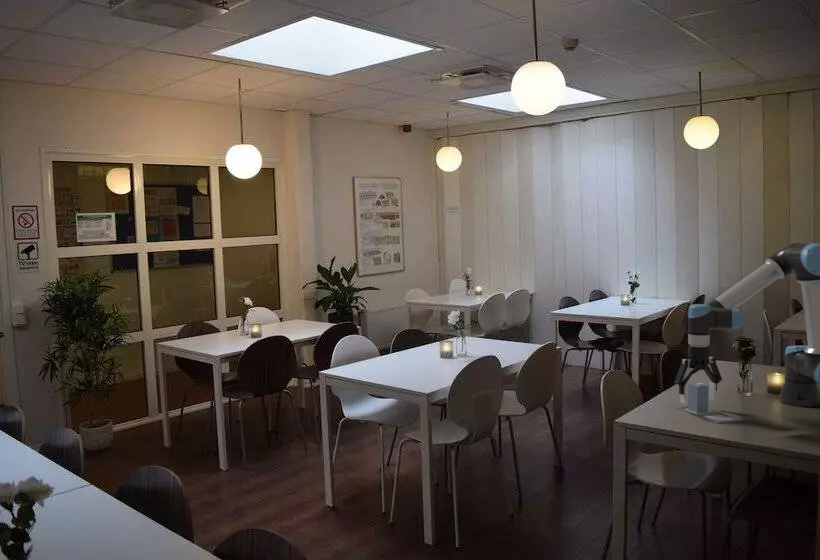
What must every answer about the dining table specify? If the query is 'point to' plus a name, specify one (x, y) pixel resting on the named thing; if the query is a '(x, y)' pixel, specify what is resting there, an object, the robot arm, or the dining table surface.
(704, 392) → the blue rectangular block
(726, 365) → the dining table surface
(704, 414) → the dock
